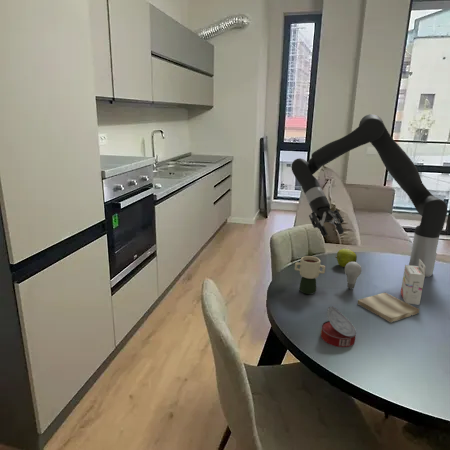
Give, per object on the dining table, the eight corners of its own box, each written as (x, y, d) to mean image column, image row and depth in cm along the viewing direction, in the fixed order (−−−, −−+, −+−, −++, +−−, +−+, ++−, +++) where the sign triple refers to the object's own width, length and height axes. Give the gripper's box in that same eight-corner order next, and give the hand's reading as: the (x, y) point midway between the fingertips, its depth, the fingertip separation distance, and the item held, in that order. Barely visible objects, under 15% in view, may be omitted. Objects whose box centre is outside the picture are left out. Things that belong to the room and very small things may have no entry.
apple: (331, 263, 171) (333, 246, 169) (350, 263, 172) (352, 246, 170) (338, 270, 163) (340, 252, 161) (358, 269, 164) (360, 252, 162)
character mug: (322, 289, 144) (326, 257, 140) (322, 298, 137) (326, 264, 134) (293, 285, 146) (296, 254, 143) (292, 293, 140) (294, 260, 136)
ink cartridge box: (399, 293, 143) (405, 256, 139) (413, 294, 142) (420, 258, 138) (405, 303, 135) (411, 265, 131) (420, 305, 134) (427, 266, 130)
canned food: (335, 341, 119) (349, 313, 119) (355, 357, 109) (371, 326, 109) (307, 330, 115) (322, 301, 115) (326, 346, 105) (342, 314, 105)
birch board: (384, 296, 140) (385, 292, 140) (418, 313, 128) (419, 309, 128) (357, 303, 134) (357, 299, 133) (390, 322, 122) (391, 318, 122)
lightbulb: (358, 287, 147) (362, 260, 144) (358, 293, 142) (362, 266, 139) (342, 284, 149) (345, 258, 146) (341, 290, 144) (345, 263, 141)
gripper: (309, 196, 150) (325, 231, 144) (335, 194, 157) (352, 228, 150) (299, 206, 156) (314, 241, 150) (325, 204, 163) (341, 237, 156)
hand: (333, 234), depth 150 cm, fingers open, 8 cm apart
